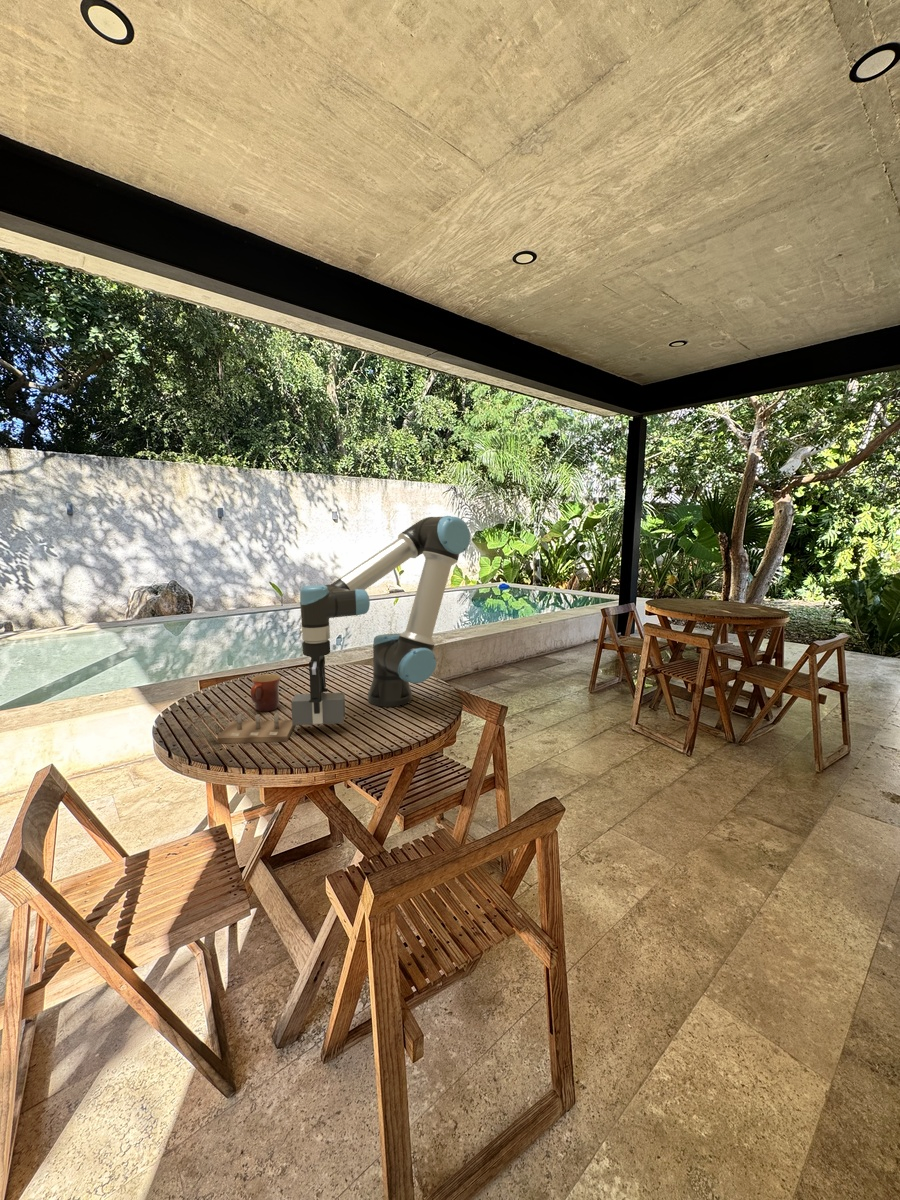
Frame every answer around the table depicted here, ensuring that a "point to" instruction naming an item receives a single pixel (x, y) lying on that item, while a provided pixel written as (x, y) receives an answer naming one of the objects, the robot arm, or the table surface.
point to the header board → (256, 731)
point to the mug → (265, 692)
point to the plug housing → (330, 704)
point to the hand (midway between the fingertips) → (319, 718)
